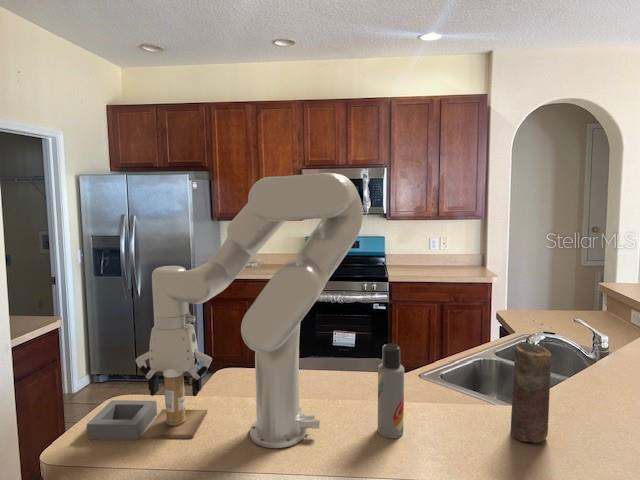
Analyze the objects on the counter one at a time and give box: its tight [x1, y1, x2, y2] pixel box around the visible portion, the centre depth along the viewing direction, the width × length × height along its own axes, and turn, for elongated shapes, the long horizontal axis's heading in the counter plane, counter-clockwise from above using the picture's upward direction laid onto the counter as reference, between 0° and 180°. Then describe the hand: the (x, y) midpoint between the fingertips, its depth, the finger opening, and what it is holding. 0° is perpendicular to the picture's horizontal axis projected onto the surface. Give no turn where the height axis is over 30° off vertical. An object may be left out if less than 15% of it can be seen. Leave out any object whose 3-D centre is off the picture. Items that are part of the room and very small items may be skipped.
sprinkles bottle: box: [162, 370, 186, 426], centre depth 103 cm, size 5×5×13 cm
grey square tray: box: [86, 399, 158, 441], centre depth 103 cm, size 11×11×4 cm
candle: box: [510, 342, 552, 443], centre depth 97 cm, size 8×7×20 cm
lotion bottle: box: [377, 343, 405, 439], centre depth 99 cm, size 6×6×20 cm
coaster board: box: [142, 408, 208, 439], centre depth 104 cm, size 11×11×1 cm
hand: (175, 393), depth 103 cm, fingers open, 9 cm apart
